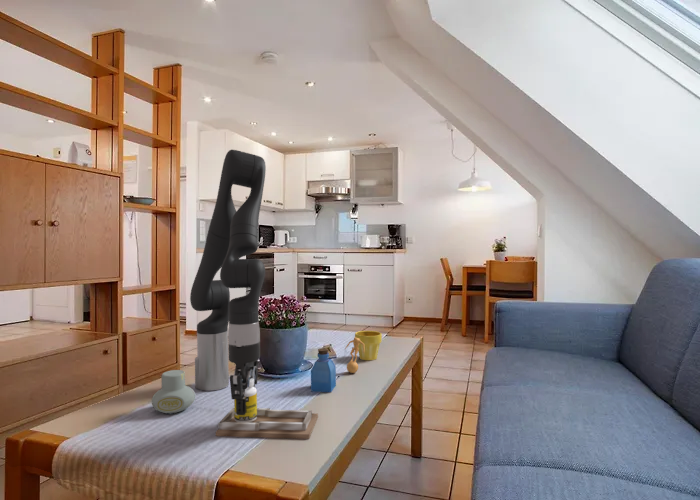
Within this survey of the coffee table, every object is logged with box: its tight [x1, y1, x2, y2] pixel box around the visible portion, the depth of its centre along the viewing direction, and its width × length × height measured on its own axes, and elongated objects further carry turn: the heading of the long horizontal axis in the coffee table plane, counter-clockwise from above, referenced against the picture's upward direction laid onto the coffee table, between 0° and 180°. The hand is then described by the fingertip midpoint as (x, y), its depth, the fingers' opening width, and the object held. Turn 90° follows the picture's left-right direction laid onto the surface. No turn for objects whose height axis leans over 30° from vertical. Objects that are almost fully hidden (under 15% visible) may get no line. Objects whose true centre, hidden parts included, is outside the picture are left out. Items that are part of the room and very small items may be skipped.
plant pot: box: [354, 330, 383, 362], centre depth 165 cm, size 10×10×10 cm
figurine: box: [344, 336, 365, 374], centre depth 148 cm, size 8×6×12 cm
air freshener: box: [150, 369, 196, 414], centre depth 116 cm, size 11×8×10 cm
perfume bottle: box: [310, 347, 337, 393], centre depth 131 cm, size 6×6×12 cm
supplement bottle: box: [233, 378, 258, 423], centre depth 105 cm, size 5×5×10 cm
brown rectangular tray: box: [215, 407, 319, 440], centre depth 104 cm, size 22×12×2 cm, turn 85°
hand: (245, 409), depth 105 cm, fingers closed on supplement bottle, 5 cm apart
